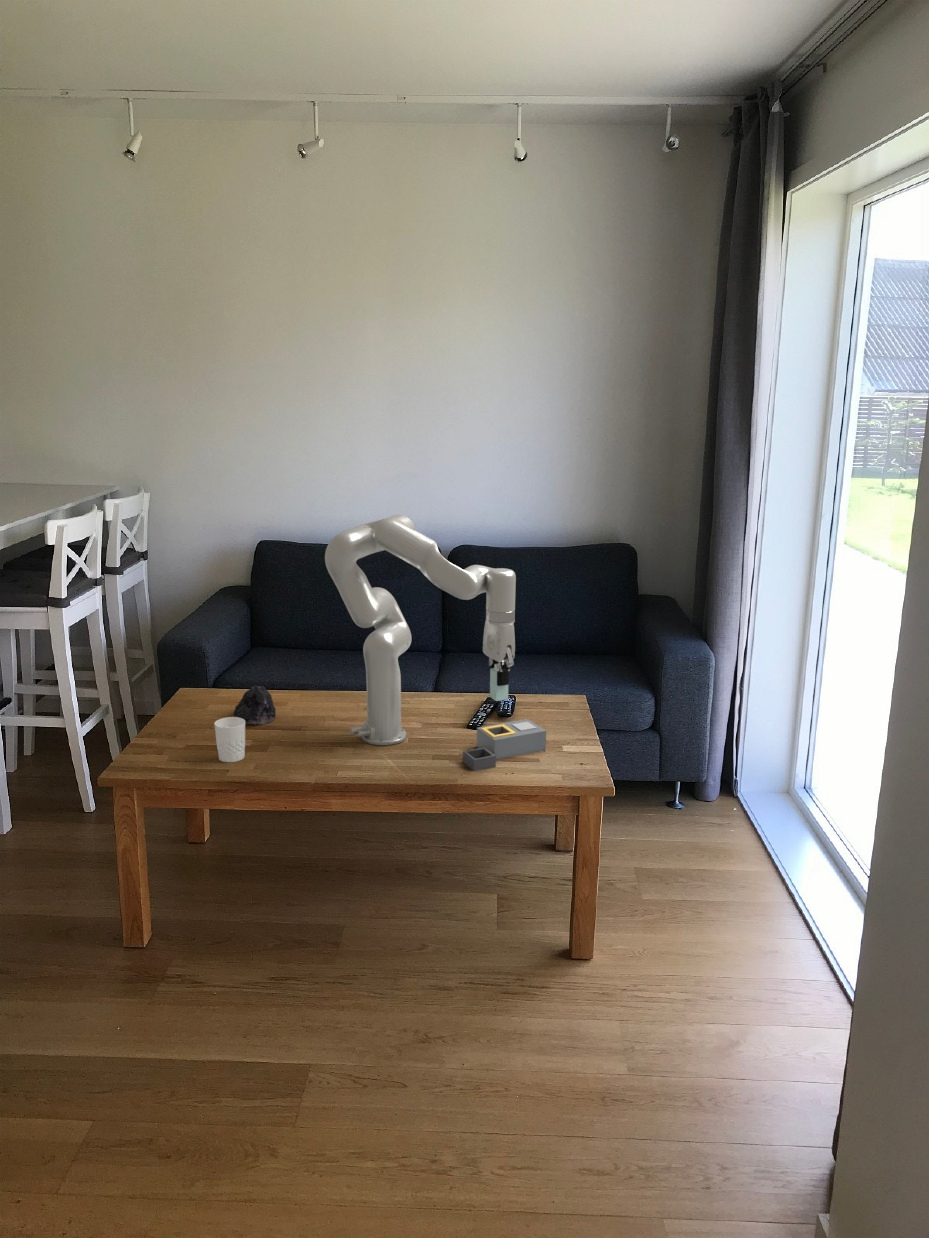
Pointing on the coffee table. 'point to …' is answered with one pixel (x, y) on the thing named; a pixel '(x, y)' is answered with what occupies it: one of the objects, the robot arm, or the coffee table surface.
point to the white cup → (230, 739)
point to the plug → (495, 690)
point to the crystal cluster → (256, 706)
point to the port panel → (512, 738)
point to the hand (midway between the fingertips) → (498, 682)
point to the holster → (479, 759)
